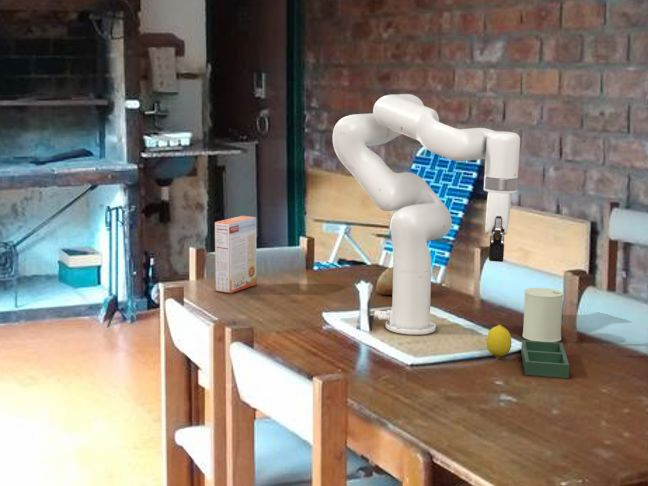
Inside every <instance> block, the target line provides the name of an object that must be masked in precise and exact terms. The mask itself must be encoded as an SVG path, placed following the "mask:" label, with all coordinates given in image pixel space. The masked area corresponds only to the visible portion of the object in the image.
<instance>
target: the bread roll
mask: <svg viewBox="0 0 648 486" xmlns="http://www.w3.org/2000/svg"><path fill="white" fill-rule="evenodd" d="M375 285H376V288H375V289H376V292H377V293H378V294H380V295H382V296H392V294H393V266H391V267H388V268H386V269H385V270H384V271H382V273H381V274H380V275H379V278H378V279H377V282H376V284H375Z"/></svg>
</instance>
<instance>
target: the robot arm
mask: <svg viewBox="0 0 648 486" xmlns="http://www.w3.org/2000/svg"><path fill="white" fill-rule="evenodd" d="M402 135H404V136H406V137H409V138H411V139H413V140H416V141H418V142H419V143H420V144H421V145H422V146H423V148H425V149H426V150H427V151H429V152H431V153H433V154H435V155H437V156H440V157H443V158H445V159H448V160H451V161H454V162H467V161H468V162H469V161H478V160H479V161H480V160H485V161H484V177H483V191H484V192H487V198H486V210H485V230H484V233H485V234H487V235H488V234H489V233H491V235H489V236H490V237H489V250H488V252H489V253H488V261H489V262H496V263H503V262H504V255H505V236H507V233H508V229H509V225H510V224H509V223H510V215H511V206H512V205H511V203H512V194H515V193H518V180H519V164H520V152H521V151H520V150H521V136H520V135H519V134H518V133H516V132H513V131H503V130H499V131H498V130H493V129H490V128H485V127H474V128H473V127H471V128H456V127H453V126H451V125H447V124H445V123H443V122H441V121H440V116H439V113H438V112H437V110H435V109H433V108H431V107H429V106H426V105H424V102H423V101H422V99H420V98H419V97H418V96H416V95H414V94H412V93H400V94H387V95H383V96H381V97H380V98H378V99H377V101H375V103H374V105H373V109H372V113H357V114H356V113H354V114H349V115H346V116H344V117H342V118H340V119H339V120H338V121H337V122H336V123H335V125H334V128H333V130H332V146H333V150H334V152H335V154H336V156H337V158H338V160H339V161H340V162H341V164H342V165H343V166H344V167H345V168H346V169H347V171H348V172H350V174H351V175H352V176H353V177H354V178H355V180H356V181H357V183H358V185H360V186H361V188H362V189H363V190H364V192H365V194H366V195H368V196H369V198H370V199H371V201H372V202H373V203H374V204H375V206H376V207H377V208H379V209H380V210H382V211H383V212H384V211H385V212H394V213H393V214H392V217H391V219H390V226H389V231H390V237H391V242H392V267H393V294H392V295H391V296H392V297H391V298H392V299H391V300H392V301H391V307H390V309H387V310H386V311H385V310H379V309H378V310H374V314H373V316H374V319H378V320H381V321H385V320H386V322H385V328H386V330H387V331H390V332H393V333H396V334H401V335H408V336H409V335H410V336H411V335H412V336H420V335H429V334H432V333H434V332H435V331H436V330H437V325H436V324H435V323H434V322H432V321H431V297H432V296H431V292H432V291H431V290H432V255H431V252H430V249H429V246H428V242H429V241H434V240H438V239H442V238H443V237H445V236H447V235H448V234H449V232H450V231H451V228H452V224H453V220H452V216H451V213H450V211H449V209H448V207H447V206H446V204H444V202H443V201H442V200H441V198H440V197H439V196H438V195H437V194H436V192H435V191H434V190H433V189H432V188H431V186H430V185H429V184H428V183H427V181H426V180H424V178H422V177H421V176H419V175H418V174H416V173H413V172H408V171H405V172H403V171H402V172H395V171H393V170H392V169H391V168H390V167H389V166H388V165H387V164H386V162H385V161H384V160H383V158H381V156H379V154H377V153H375V152H374V151H372V150H371V149H370V148H369V147H370V146H378V145H384V144H387V143H389V142H391V141H393V140H394V139H396V138H398V137H400V136H402Z"/></svg>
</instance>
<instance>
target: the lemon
mask: <svg viewBox="0 0 648 486" xmlns="http://www.w3.org/2000/svg"><path fill="white" fill-rule="evenodd" d="M486 349H487V350H488V352H489V353H490V354H491V355H492V356H494V357H495V358H496V359H497V360H500V359H501V358H503V357H505V356H507V355H508V354H509V353H510V351H511V349H512V336H511V333H510V331H509V330H508V329H507V328H506V327H504V326H503V325H502V324H498V325H496V326H494V327H491V329H490V330H488V333H487V336H486Z"/></svg>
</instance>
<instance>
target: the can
mask: <svg viewBox="0 0 648 486" xmlns="http://www.w3.org/2000/svg"><path fill="white" fill-rule="evenodd" d="M523 292H524V304H523V306H524V307H523V329H522V338H524V340H529V341H543V342H558V343H559V342H560V341H562V317H563V316H562V314H563V298H564V292H563V291H561V290H559V289H554V288H547V287H530V288H529V287H528V288H526V289H525V290H524V291H523Z"/></svg>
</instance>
